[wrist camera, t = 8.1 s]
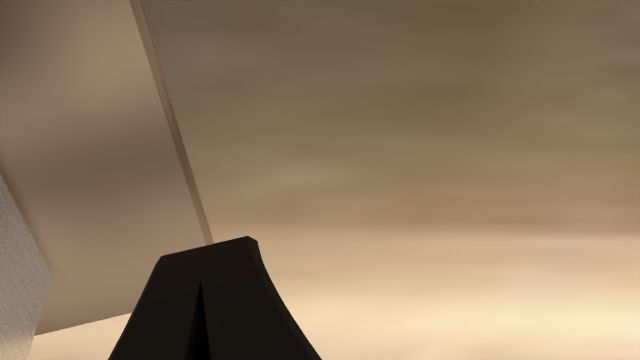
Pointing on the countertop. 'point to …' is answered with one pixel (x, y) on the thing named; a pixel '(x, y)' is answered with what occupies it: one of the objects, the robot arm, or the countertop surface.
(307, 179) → the countertop surface
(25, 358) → the grey rectangular block
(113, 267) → the flat wooden platform
